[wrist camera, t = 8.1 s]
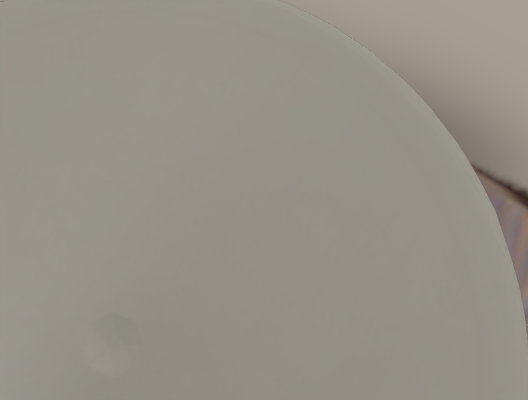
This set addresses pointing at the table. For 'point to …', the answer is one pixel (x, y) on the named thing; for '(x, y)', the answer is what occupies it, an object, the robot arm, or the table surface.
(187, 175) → the supplement tub
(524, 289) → the table surface
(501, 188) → the table surface
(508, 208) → the table surface
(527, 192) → the table surface
